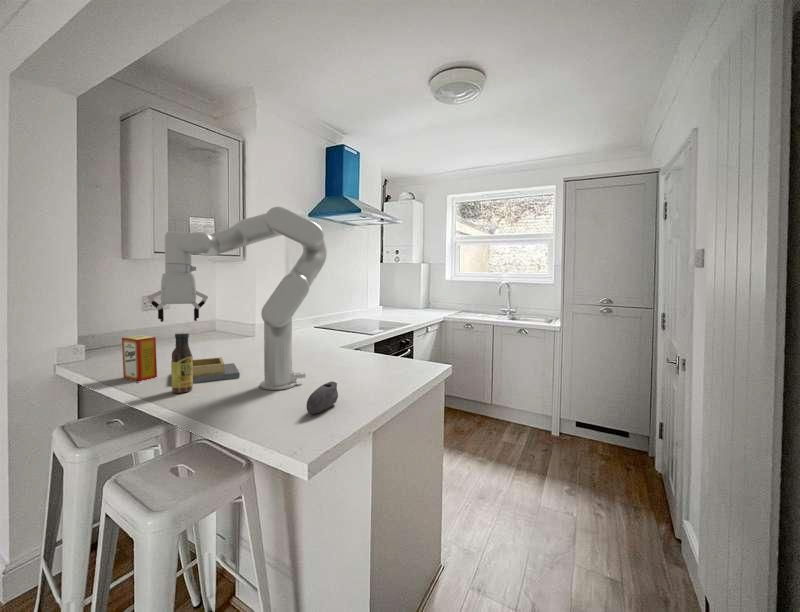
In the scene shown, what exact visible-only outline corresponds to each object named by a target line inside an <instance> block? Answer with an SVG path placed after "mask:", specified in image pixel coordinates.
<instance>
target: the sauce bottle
mask: <svg viewBox="0 0 800 612" xmlns="http://www.w3.org/2000/svg"><path fill="white" fill-rule="evenodd" d="M189 337H190V333H189V332H176V333H175V334H174V338H175V348H174V349H173V351H172V353H171V369H170V370H171V391H172V393H173V394H174V393H175V394H184V393H188V392H190V391H192V390H193V384H194V383H193V360H194V358H193V353H192V352H191V351H192V350H191V348H190V346H189Z"/></svg>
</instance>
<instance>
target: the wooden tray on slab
mask: <svg viewBox="0 0 800 612" xmlns="http://www.w3.org/2000/svg"><path fill="white" fill-rule="evenodd" d="M239 377H240V372H239V369H238V367H237V366H236V364H235V363H234V362H233V363H232V362H231V363H225V362H224V360H223V358H222V356H221V357H211V358H209V357H208V358H201V359H200V358H199V359H198V358H197V359H193V384H197V383H196V382H199V383H206V382H205V381H208V382H215V381H214V380H216V381H222V380H223V379H225V380H231V378H234V379H240V378H239ZM223 381H224V380H223Z"/></svg>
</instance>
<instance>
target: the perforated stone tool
mask: <svg viewBox="0 0 800 612" xmlns="http://www.w3.org/2000/svg"><path fill="white" fill-rule="evenodd" d="M337 387H338V383H337V382H335V381H331V380H330V381H329V382H326V383H324V384H322V385H320V386H319V387H317V388H316V389H315V390H314V391H312V393H311V394H310V395H309V397H308V399H307V401H306V411H307V412H308V414H310V415H316V414H319V413H322V412H323V411H327V410H328V409H330V408H332V406H333V405H334V404H336V403H337V400H338V398H339V393H338V388H337ZM329 407H330V408H329Z"/></svg>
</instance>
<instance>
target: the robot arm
mask: <svg viewBox="0 0 800 612" xmlns="http://www.w3.org/2000/svg"><path fill="white" fill-rule="evenodd" d="M280 236H284V237H286V238H288V239H290V240H293V241H294V242H297V243H299V244H300V245H301V246H302V253H301V255H300V257H299V258H298V260H297V261H296V263H295V264H294V266H293V267H292V269H291V270H290V271H289V273H288V274H286V275H285V276H284V277H283V278H282V279H281V281H280V282H279V283H278V285H277V287H275V288H274V291H273V292H272V294H271V295H270V296H269V298H268V299H267V300H266V302H265V304H263V306H262V309H261V313H260V314H261V319H262V321H263V337H264V338H263V355H264V356H263V357H264V358H263V359H264V360H263V362H264V364H263V365H264V367H263V368H264V371H263V372H264V380H262V381H261V382H260V383H259V386H260V388H261V389H262V390H263V389H264V390H268V391H278V390H279V391H281V390H286V389H290V388H293V387H295V386H296V385H297V383H298V382H297V380H298V379H305V378H306V373H305V372H299V371H298V372H294V371H293V335H292V334H293V316H294V314H295V313H296V312H297V310H298V309H299V308H300V306H301V304H302V303H303V301H304V300H305V299H306V297H307V295H308V294H309V292H310V287H311V285H312V284H313V282H314V280H315V279H316V278H317V276H318V274H319V273H320V271H321V270H322V268H323V266H324V265H325V262H326V259H327V254H328V253H327V245H326V242H325V239H324V237H325V236H324V231H323V229H322V227H321V226H320V225H319V224H317V223H316V222H314V221H312V220H310V219H308V218H306V217H303V216H301V215H299V214H298V213H296V212H293V211H291V210H289V209H287V208H285V207H283V206H273V207H271V208H270V209H268V210H267V212H265V213H262V214H258V215H255V216H251V217H247V218H244V219H241V220H239V221H237V222H235V224H234V225H233V226H231V227H228V228H226V229H223V230H220V231H217V232H212V233H207V232H204V231H203V232H202V231H196V232H195V231H194V232H185V231H184V232H183V231H176V230H175V231H166V232H165V234H164V273H162V275H161V281H160V282H161V283H160V290H158V291H157V292H154V293H152V294H148V296H147V300H148V301H149V302H150V304H151V306H153V307H155V308H156V309H157V318H158V320H160V322H161V323H163V322H164V320H165V319H164V309H163V307H164V306H165V305H166V304H168V305H172V304H173V305H174V304H175V305H176V304H177V305H178V304H179V305H184V304H187V305H188V304H190V305H192V306H193V307H194V308H193V321H194V322H197V321H198V319H199V318H200V309H201V307H203V306H204V305H205V304H206V302H207V300H208V298H209V297H208V295H206V294H204V293H202V292H200V291H197V286H196V285H197V284H196V279H195V274H194V273H193V274H192V272H194V271H195V272H196V271H197V266H193V265H192V255H193V254H194V255H199V256H205V257H212V256H217V255H220V254H224V253H226V252H227V253H228V252H231V251H233V250H237V249H239V248H243V247H247V246H249V245H253V244H257V243H259V242H263V241H267V240H268V239H270V240H271V239H273V238H276V237H280ZM156 297H160V300H161V301H160V303H158V302H157V301H156V300H155V298H156ZM197 297H199V298H202V299H201V300H200V301H199V303H197V302H196V300H197Z"/></svg>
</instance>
